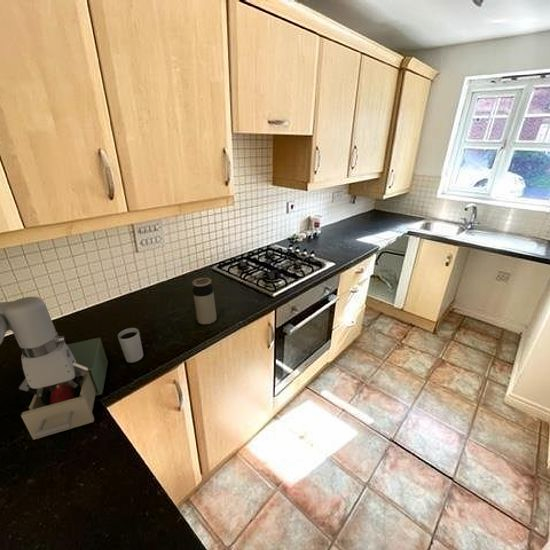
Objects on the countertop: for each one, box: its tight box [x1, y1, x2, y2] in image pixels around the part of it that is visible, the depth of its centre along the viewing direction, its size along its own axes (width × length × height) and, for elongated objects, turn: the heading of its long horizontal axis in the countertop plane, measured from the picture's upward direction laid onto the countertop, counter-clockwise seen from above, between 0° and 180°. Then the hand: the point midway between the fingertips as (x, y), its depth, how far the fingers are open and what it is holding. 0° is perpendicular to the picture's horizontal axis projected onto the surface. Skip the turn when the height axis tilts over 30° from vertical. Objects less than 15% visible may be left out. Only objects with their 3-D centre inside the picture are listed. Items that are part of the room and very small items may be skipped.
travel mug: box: [191, 277, 218, 325], centre depth 123 cm, size 8×8×18 cm
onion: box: [50, 384, 74, 404], centre depth 81 cm, size 6×6×8 cm
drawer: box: [20, 371, 97, 441], centre depth 80 cm, size 20×14×8 cm
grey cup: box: [117, 327, 144, 363], centre depth 104 cm, size 7×7×10 cm
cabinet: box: [66, 337, 109, 397], centre depth 93 cm, size 16×15×10 cm
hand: (63, 399), depth 81 cm, fingers closed on onion, 5 cm apart
